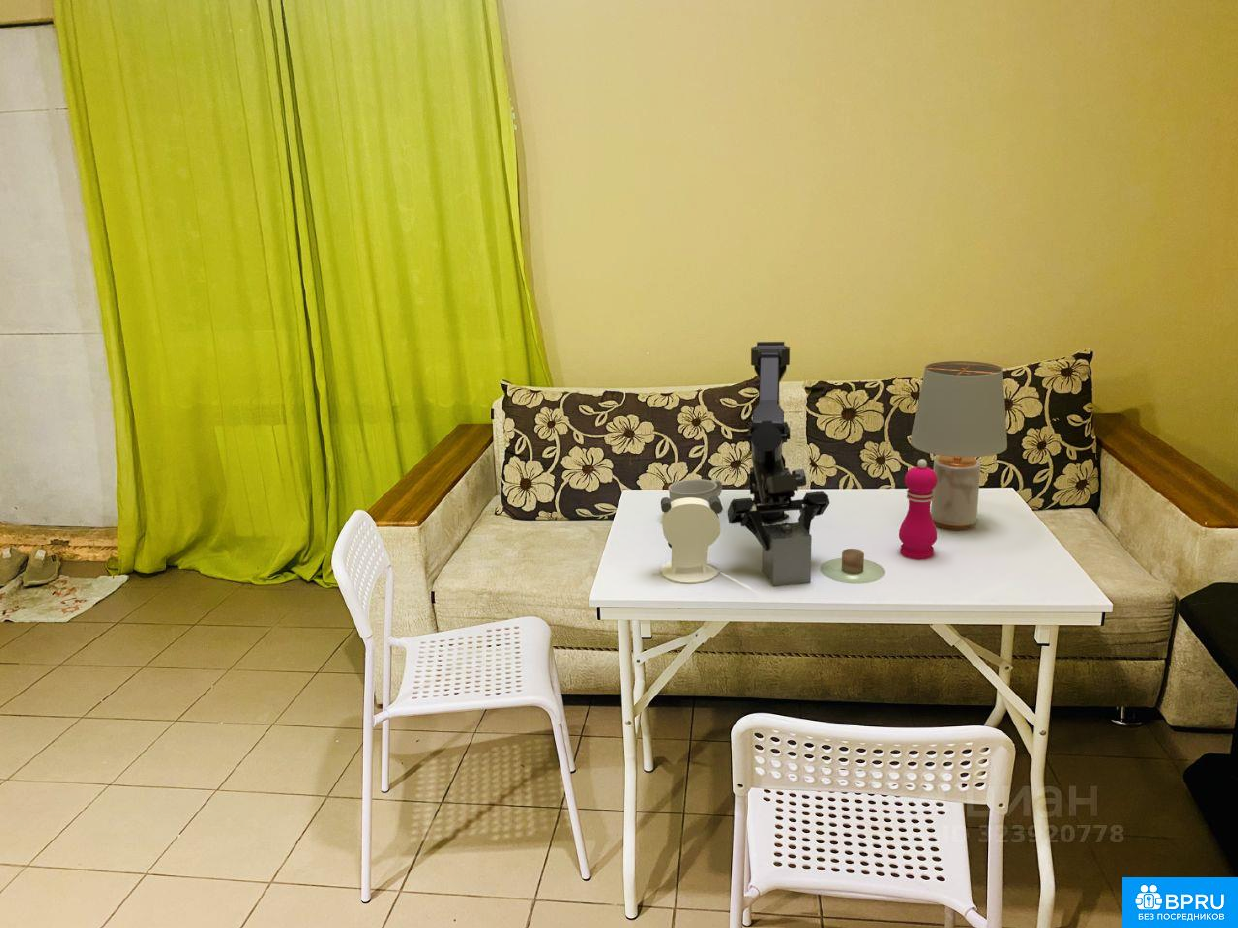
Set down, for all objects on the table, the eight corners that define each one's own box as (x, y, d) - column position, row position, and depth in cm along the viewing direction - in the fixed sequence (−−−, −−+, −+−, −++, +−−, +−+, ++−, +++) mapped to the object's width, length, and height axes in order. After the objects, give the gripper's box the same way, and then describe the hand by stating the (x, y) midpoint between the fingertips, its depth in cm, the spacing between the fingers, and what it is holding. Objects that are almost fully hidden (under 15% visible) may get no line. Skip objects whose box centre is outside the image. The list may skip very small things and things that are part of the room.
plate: (852, 555, 185) (852, 552, 185) (898, 575, 176) (898, 572, 175) (807, 570, 180) (807, 567, 179) (852, 591, 170) (852, 588, 170)
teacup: (685, 530, 202) (684, 496, 200) (660, 516, 211) (659, 482, 209) (738, 517, 208) (738, 484, 206) (712, 504, 217) (711, 471, 215)
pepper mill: (936, 550, 186) (942, 455, 180) (935, 564, 180) (942, 466, 174) (898, 547, 188) (903, 453, 182) (896, 561, 182) (901, 464, 176)
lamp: (894, 531, 197) (902, 373, 186) (920, 503, 212) (929, 356, 201) (988, 547, 186) (1001, 381, 176) (1008, 516, 201) (1022, 363, 191)
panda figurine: (719, 558, 187) (718, 488, 182) (725, 582, 176) (725, 508, 172) (659, 561, 187) (657, 490, 183) (662, 584, 176) (660, 511, 172)
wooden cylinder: (852, 564, 180) (852, 547, 179) (867, 570, 177) (868, 553, 176) (837, 569, 178) (837, 552, 177) (852, 576, 175) (853, 559, 174)
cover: (762, 573, 179) (762, 519, 176) (798, 570, 180) (799, 516, 177) (773, 589, 172) (773, 533, 169) (810, 585, 173) (811, 529, 170)
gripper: (730, 458, 173) (746, 535, 166) (827, 450, 175) (847, 526, 168) (721, 485, 182) (735, 559, 175) (812, 477, 185) (830, 550, 177)
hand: (787, 548), depth 174 cm, fingers closed on cover, 7 cm apart
